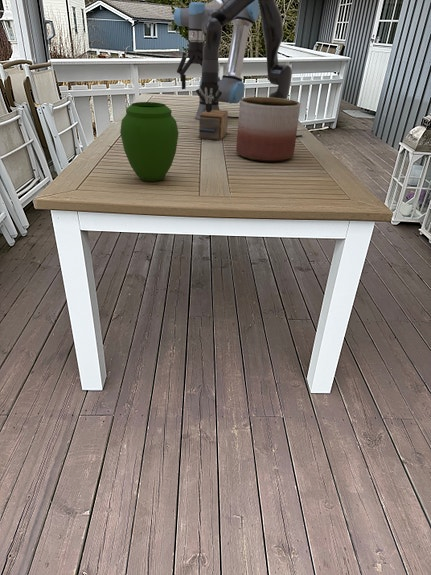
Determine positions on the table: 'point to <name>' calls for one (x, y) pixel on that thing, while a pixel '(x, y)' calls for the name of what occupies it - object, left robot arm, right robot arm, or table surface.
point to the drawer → (209, 127)
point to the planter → (267, 128)
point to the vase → (149, 139)
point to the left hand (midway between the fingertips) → (195, 90)
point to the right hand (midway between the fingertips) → (208, 112)
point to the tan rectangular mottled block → (223, 121)
